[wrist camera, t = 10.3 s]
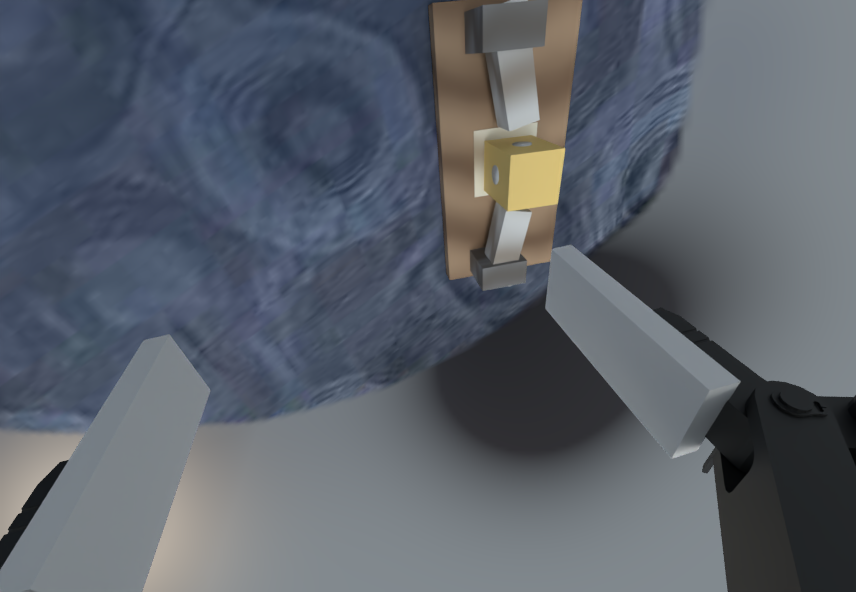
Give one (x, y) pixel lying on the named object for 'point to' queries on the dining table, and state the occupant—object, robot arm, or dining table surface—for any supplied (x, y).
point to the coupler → (523, 172)
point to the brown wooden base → (497, 123)
